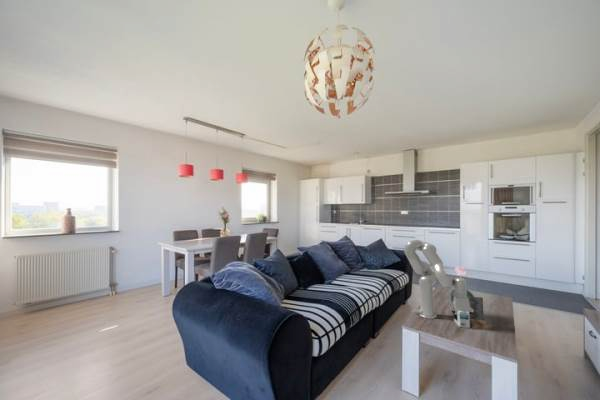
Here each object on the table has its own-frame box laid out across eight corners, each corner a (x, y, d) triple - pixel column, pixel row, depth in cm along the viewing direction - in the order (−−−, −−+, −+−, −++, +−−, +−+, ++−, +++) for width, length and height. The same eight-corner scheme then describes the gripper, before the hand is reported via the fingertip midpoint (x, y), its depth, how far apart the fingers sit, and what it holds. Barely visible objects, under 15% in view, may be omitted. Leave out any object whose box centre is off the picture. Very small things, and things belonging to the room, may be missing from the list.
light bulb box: (470, 328, 177) (469, 312, 178) (459, 327, 179) (459, 312, 179) (463, 321, 188) (463, 307, 188) (453, 321, 189) (453, 306, 190)
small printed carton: (472, 328, 177) (471, 302, 178) (464, 320, 191) (463, 296, 192) (492, 330, 174) (491, 303, 175) (482, 321, 188) (481, 297, 189)
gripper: (449, 296, 183) (450, 321, 182) (476, 297, 179) (477, 323, 178) (446, 292, 190) (446, 317, 189) (471, 294, 186) (472, 319, 185)
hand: (461, 319), depth 184 cm, fingers closed on light bulb box, 6 cm apart
